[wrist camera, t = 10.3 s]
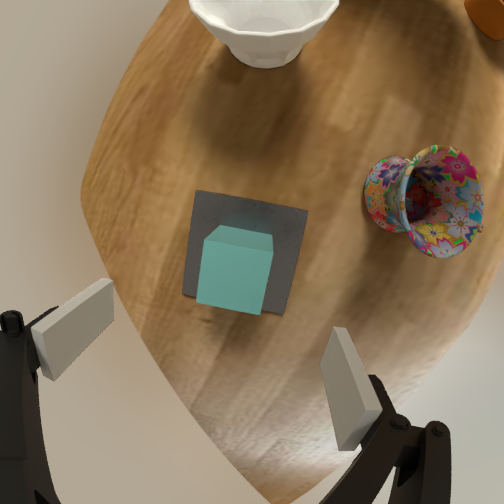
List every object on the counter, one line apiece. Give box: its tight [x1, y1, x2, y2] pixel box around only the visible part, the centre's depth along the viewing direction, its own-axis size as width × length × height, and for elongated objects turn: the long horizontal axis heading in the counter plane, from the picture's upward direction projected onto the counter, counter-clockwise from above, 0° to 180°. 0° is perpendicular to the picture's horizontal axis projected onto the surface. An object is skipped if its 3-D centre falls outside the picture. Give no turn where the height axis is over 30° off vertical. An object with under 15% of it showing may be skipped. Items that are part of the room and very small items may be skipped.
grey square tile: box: [182, 190, 308, 314], centre depth 28 cm, size 12×12×6 cm
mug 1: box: [364, 145, 483, 258], centre depth 23 cm, size 12×9×11 cm
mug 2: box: [464, 0, 504, 40], centre depth 14 cm, size 9×12×9 cm
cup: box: [189, 0, 339, 68], centre depth 19 cm, size 12×12×11 cm
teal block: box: [196, 225, 273, 315], centre depth 27 cm, size 6×6×8 cm
